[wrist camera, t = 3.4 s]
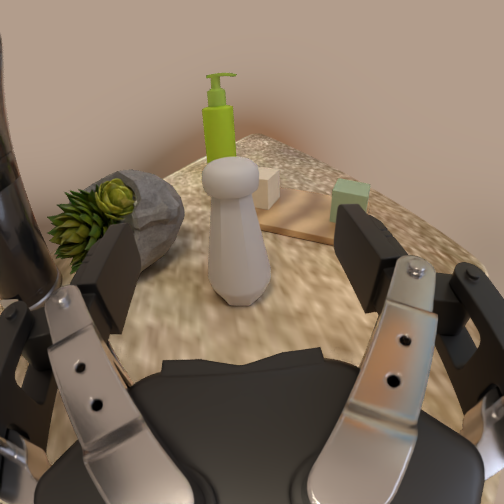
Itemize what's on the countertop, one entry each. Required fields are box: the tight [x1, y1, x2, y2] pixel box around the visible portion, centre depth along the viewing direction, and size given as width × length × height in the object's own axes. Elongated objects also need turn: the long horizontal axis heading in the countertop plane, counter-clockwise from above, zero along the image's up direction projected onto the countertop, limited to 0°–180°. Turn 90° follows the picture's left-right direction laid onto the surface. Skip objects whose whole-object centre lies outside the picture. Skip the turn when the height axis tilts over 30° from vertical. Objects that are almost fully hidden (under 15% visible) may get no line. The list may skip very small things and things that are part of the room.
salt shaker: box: [202, 157, 271, 306], centre depth 24 cm, size 6×6×13 cm
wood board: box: [255, 187, 370, 246], centre depth 39 cm, size 18×12×1 cm, turn 65°
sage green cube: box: [329, 178, 370, 223], centre depth 35 cm, size 4×4×4 cm
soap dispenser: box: [202, 73, 237, 163], centre depth 51 cm, size 6×7×20 cm
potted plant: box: [47, 170, 185, 274], centre depth 28 cm, size 12×13×15 cm
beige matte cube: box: [252, 167, 280, 210], centre depth 40 cm, size 4×4×4 cm
